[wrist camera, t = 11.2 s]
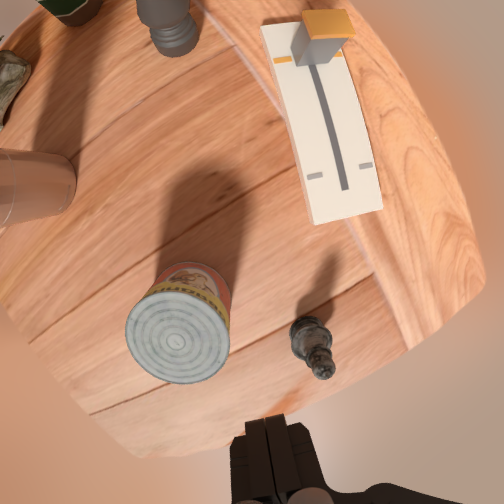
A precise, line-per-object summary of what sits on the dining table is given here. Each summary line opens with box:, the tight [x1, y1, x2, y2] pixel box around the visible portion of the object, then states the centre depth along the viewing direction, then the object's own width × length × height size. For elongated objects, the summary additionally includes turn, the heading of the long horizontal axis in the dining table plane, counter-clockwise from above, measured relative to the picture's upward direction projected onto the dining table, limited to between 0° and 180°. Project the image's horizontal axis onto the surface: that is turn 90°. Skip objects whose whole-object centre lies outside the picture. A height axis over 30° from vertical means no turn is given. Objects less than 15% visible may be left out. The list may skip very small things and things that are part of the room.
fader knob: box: [290, 9, 356, 67], centre depth 28 cm, size 3×5×10 cm
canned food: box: [125, 262, 231, 384], centre depth 36 cm, size 11×11×12 cm
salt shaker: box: [289, 316, 336, 380], centre depth 37 cm, size 6×6×12 cm
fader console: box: [259, 22, 383, 225], centre depth 36 cm, size 28×10×3 cm, turn 14°
